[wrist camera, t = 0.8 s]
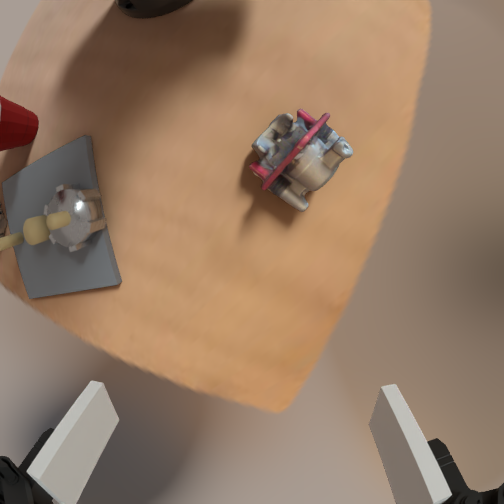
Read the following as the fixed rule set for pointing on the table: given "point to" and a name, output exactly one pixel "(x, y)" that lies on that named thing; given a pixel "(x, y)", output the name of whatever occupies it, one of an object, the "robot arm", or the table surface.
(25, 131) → the plastic cup
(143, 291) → the table surface
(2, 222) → the planet gear
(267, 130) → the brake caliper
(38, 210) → the plate
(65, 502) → the robot arm
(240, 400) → the table surface
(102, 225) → the seated gear
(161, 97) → the table surface
